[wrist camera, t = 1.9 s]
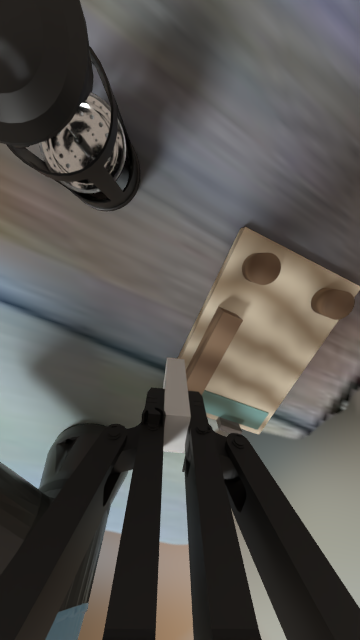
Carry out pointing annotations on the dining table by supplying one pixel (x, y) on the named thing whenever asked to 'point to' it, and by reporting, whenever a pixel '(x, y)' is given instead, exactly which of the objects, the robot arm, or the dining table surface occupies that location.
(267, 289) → the stool seat
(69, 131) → the french press
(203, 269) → the dining table surface
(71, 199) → the dining table surface
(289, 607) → the robot arm
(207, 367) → the folding leg
